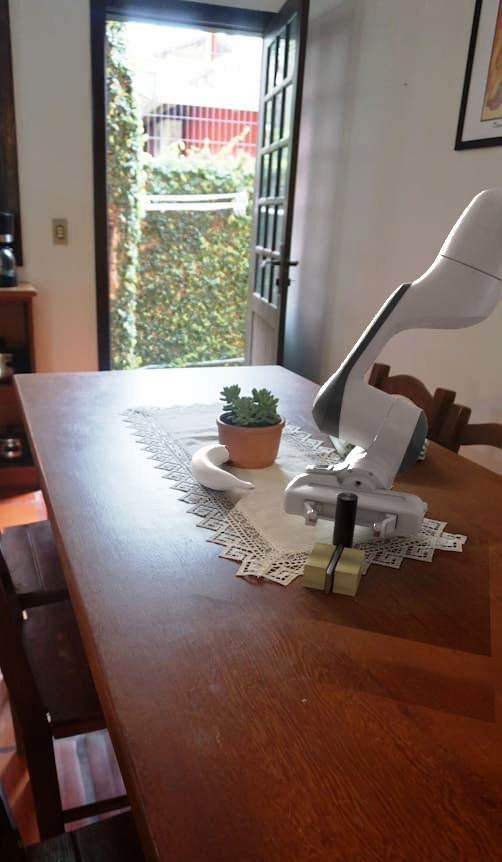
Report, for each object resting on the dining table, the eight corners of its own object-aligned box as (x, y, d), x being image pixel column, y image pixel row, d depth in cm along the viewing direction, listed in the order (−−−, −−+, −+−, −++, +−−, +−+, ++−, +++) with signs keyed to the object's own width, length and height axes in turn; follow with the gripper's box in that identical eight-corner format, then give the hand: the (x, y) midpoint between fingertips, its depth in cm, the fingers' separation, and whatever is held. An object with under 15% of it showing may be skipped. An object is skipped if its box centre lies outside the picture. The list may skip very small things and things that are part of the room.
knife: (332, 554, 98) (339, 490, 94) (351, 558, 98) (359, 494, 94) (315, 593, 88) (322, 523, 84) (336, 598, 88) (344, 527, 84)
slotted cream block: (319, 528, 110) (321, 502, 108) (388, 540, 106) (392, 514, 105) (282, 598, 90) (285, 568, 88) (367, 615, 86) (371, 584, 85)
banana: (209, 455, 140) (279, 464, 136) (176, 492, 124) (254, 504, 120) (209, 432, 138) (280, 441, 134) (176, 467, 121) (255, 479, 118)
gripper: (425, 521, 104) (418, 560, 92) (295, 499, 110) (272, 534, 98) (431, 482, 102) (425, 518, 90) (298, 463, 108) (275, 494, 96)
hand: (344, 526), depth 94 cm, fingers open, 8 cm apart
